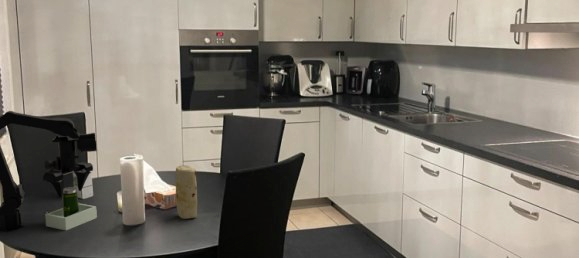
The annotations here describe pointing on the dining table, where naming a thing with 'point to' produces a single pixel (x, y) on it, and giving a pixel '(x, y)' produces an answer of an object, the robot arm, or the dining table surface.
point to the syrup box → (84, 187)
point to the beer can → (70, 201)
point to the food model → (186, 192)
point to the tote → (71, 217)
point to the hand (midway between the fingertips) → (70, 194)
